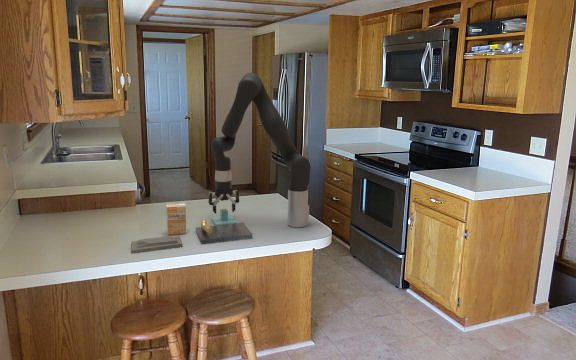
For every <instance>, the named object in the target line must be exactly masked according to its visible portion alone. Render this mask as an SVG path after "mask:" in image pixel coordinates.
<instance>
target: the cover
mask: <svg viewBox="0 0 576 360" xmlns="http://www.w3.org/2000/svg"><path fill="white" fill-rule="evenodd" d="M219 213H220V215H219V216H218V217H211V222H212V223H213V225H214V226H216V225H225V224H235V223H238V221H237V220H236V219H235V218H234V216H233V215H229V210H228V209H227V208H222V209H219Z"/></svg>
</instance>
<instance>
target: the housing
mask: <svg viewBox="0 0 576 360" xmlns="http://www.w3.org/2000/svg"><path fill="white" fill-rule="evenodd" d="M209 226H210V227H211V228H212V233H207V232H206V231H202V230H201V226H196V227H195V233H196V235H197V238H198V239H199V242H200V244H201V245H207V244H217V242H218V243H224V242H225V243H228V242H234V241H242V240H243V241H244V240H250V239H253V233H252V231H251V230H250V229H249V228H248V227H247V225H246V224H245V223H244V222H237V223H235V224H225V225H216V226H215V225H209Z"/></svg>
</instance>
